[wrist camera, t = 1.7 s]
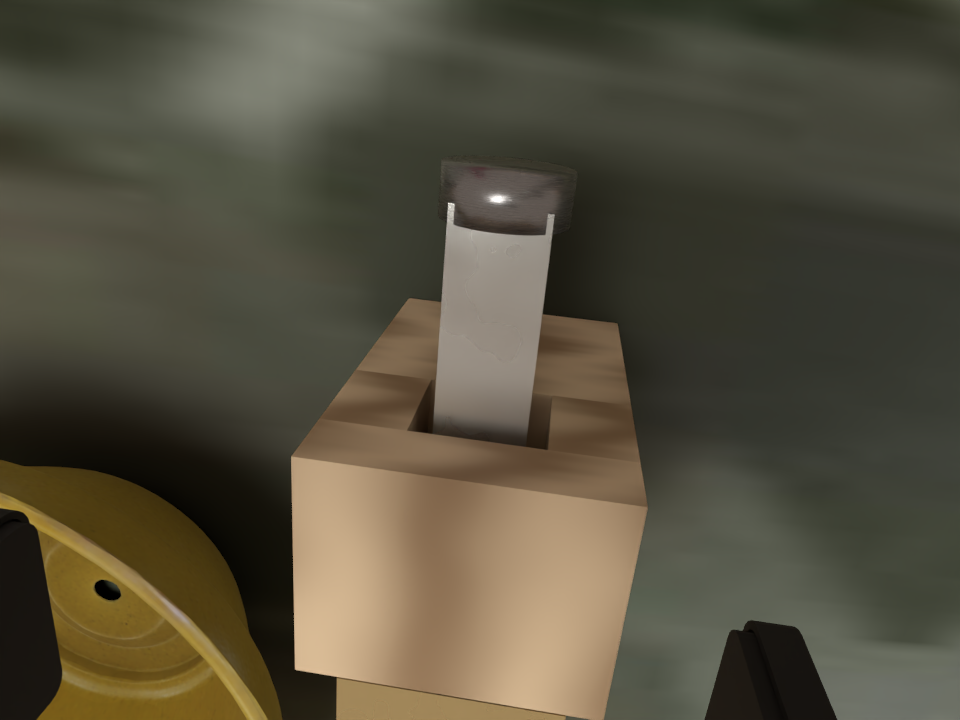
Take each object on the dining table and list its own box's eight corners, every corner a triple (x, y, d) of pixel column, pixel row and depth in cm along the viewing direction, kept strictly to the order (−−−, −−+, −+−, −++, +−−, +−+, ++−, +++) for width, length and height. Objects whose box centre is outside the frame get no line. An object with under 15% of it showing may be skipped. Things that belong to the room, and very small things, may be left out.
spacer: (568, 566, 32) (565, 716, 24) (559, 619, 33) (554, 778, 25) (391, 539, 32) (336, 678, 25) (389, 592, 33) (336, 739, 26)
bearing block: (617, 323, 33) (647, 507, 19) (592, 469, 37) (602, 721, 22) (409, 297, 34) (291, 456, 20) (401, 443, 37) (295, 669, 23)
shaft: (577, 164, 23) (577, 182, 19) (500, 732, 32) (491, 817, 28) (453, 151, 23) (429, 166, 19) (414, 717, 32) (393, 800, 29)
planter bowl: (418, 406, 36) (337, 577, 24) (343, 815, 49) (265, 1066, 37) (-170, 267, 38) (-533, 362, 25) (-96, 700, 50) (-316, 905, 38)
